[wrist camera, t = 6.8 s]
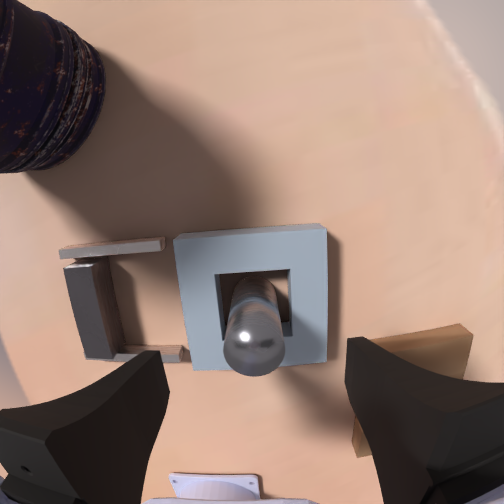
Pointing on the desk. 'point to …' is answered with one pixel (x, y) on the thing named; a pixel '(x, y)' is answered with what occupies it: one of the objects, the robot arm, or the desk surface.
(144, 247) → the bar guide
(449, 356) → the mount block
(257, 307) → the lock pin
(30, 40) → the storage jar
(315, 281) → the socket block
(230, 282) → the desk surface
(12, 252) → the desk surface
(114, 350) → the bar
